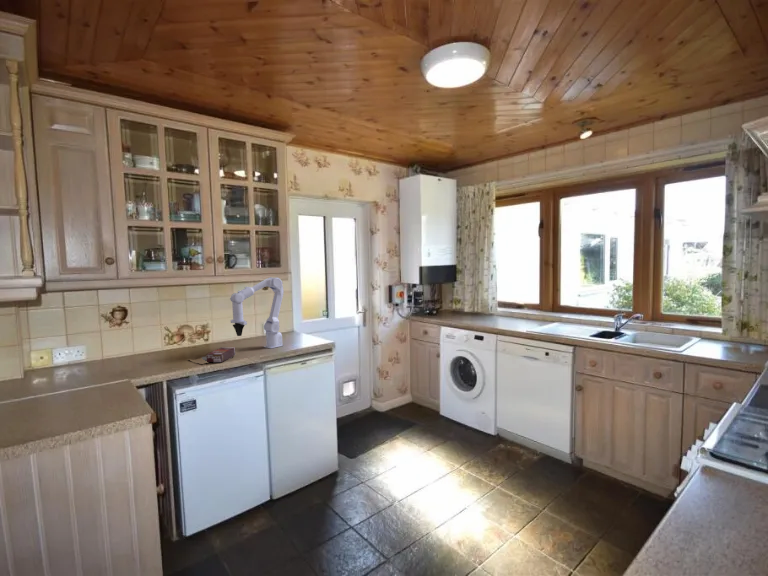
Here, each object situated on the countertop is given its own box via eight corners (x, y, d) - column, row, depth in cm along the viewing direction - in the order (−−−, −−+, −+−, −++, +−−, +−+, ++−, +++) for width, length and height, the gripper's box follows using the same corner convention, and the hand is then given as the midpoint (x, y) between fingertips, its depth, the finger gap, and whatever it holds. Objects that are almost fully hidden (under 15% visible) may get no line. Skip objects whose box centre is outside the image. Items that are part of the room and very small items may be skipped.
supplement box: (235, 346, 222) (221, 354, 207) (235, 355, 223) (222, 362, 207) (220, 347, 223) (206, 354, 207) (221, 355, 224) (206, 362, 208)
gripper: (225, 313, 230) (226, 335, 231) (238, 315, 221) (239, 338, 222) (236, 311, 235) (237, 333, 236) (249, 313, 226) (250, 336, 227)
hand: (239, 335), depth 229 cm, fingers closed
